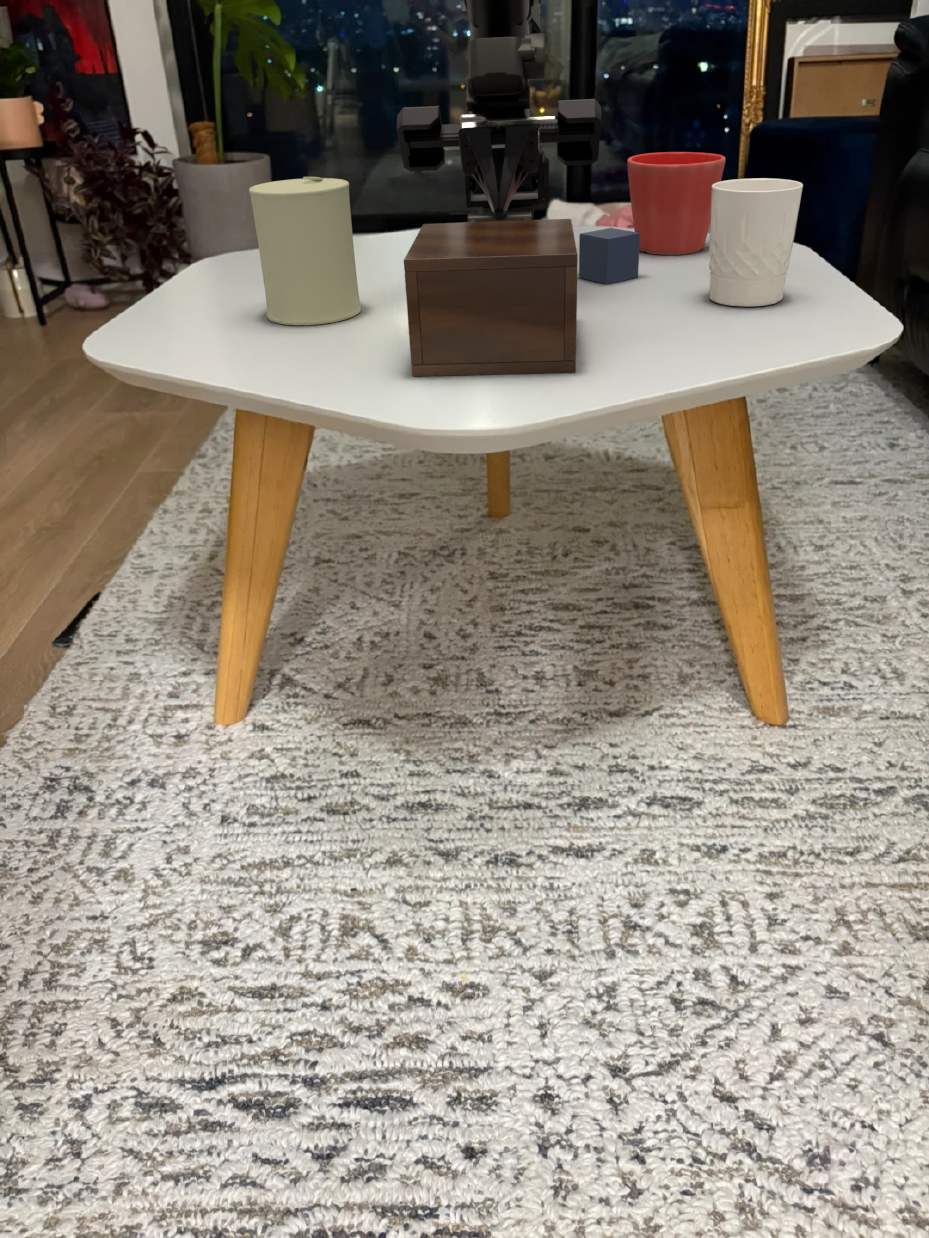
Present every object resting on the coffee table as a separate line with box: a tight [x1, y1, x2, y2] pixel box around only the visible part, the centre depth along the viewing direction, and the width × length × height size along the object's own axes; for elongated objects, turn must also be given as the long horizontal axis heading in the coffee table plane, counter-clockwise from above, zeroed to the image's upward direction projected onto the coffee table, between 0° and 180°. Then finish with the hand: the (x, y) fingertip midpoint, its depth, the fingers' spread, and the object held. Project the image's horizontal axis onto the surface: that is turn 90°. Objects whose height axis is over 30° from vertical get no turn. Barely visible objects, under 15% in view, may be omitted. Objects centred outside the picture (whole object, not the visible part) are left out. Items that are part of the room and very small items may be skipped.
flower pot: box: [626, 151, 726, 256], centre depth 111 cm, size 11×11×10 cm
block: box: [578, 227, 640, 285], centre depth 102 cm, size 4×4×4 cm
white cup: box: [708, 177, 804, 308], centre depth 90 cm, size 8×8×10 cm
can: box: [248, 176, 362, 326], centre depth 92 cm, size 9×9×12 cm
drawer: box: [467, 212, 532, 222], centre depth 86 cm, size 18×12×7 cm, turn 176°
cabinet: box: [403, 218, 579, 377], centre depth 80 cm, size 15×13×9 cm
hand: (498, 214), depth 90 cm, fingers closed
